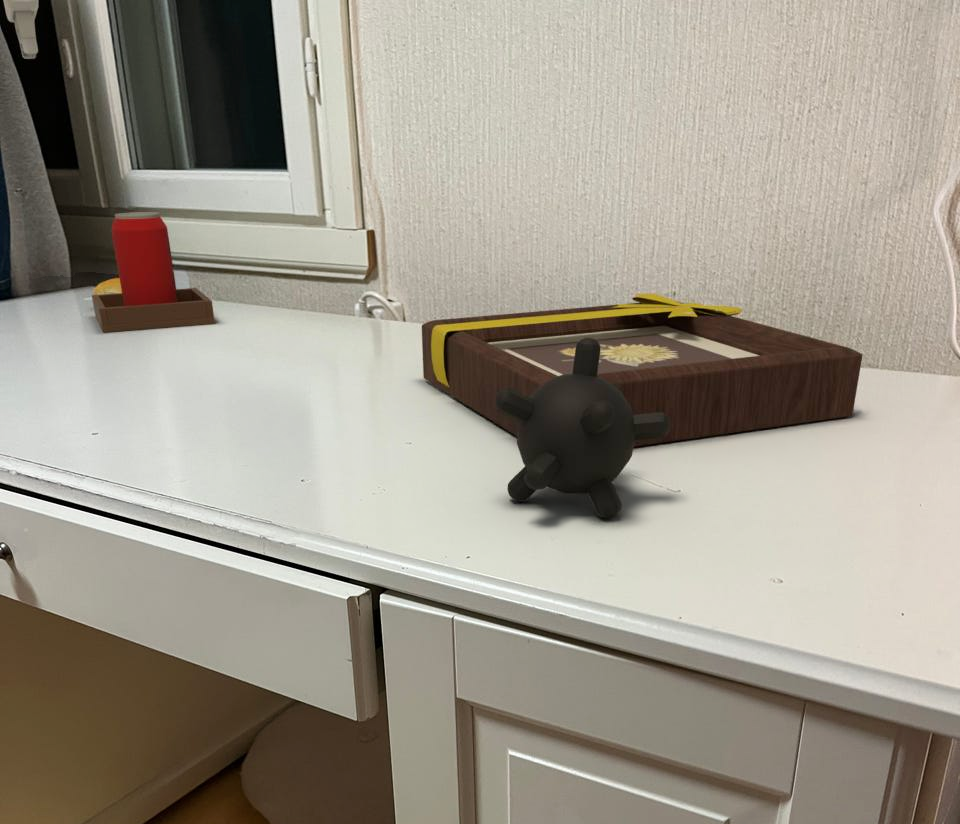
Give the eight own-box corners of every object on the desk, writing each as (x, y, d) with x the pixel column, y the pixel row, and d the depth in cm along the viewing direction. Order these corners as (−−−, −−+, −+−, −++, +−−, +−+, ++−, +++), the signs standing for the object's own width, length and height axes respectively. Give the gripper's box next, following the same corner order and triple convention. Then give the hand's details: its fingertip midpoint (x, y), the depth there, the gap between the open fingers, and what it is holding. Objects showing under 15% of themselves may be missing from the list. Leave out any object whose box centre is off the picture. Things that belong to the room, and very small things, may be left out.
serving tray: (103, 332, 121) (98, 309, 120) (95, 316, 131) (91, 294, 130) (215, 323, 126) (211, 300, 125) (199, 309, 136) (196, 287, 135)
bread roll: (169, 301, 142) (164, 272, 141) (137, 312, 135) (132, 281, 133) (117, 300, 144) (112, 271, 142) (83, 310, 136) (77, 279, 134)
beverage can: (188, 309, 131) (174, 211, 125) (164, 318, 125) (149, 215, 119) (141, 308, 132) (125, 211, 126) (115, 317, 126) (98, 215, 120)
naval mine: (428, 464, 63) (519, 378, 70) (544, 581, 64) (621, 485, 71) (516, 367, 54) (608, 281, 62) (647, 504, 56) (723, 404, 63)
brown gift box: (415, 310, 93) (686, 288, 103) (418, 381, 96) (680, 353, 106) (546, 372, 70) (879, 336, 80) (544, 462, 73) (865, 416, 83)
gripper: (-19, -57, 135) (5, 60, 141) (-22, -83, 118) (5, 51, 125) (30, -54, 137) (52, 61, 144) (34, -80, 120) (58, 51, 127)
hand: (30, 56), depth 134 cm, fingers open, 8 cm apart
